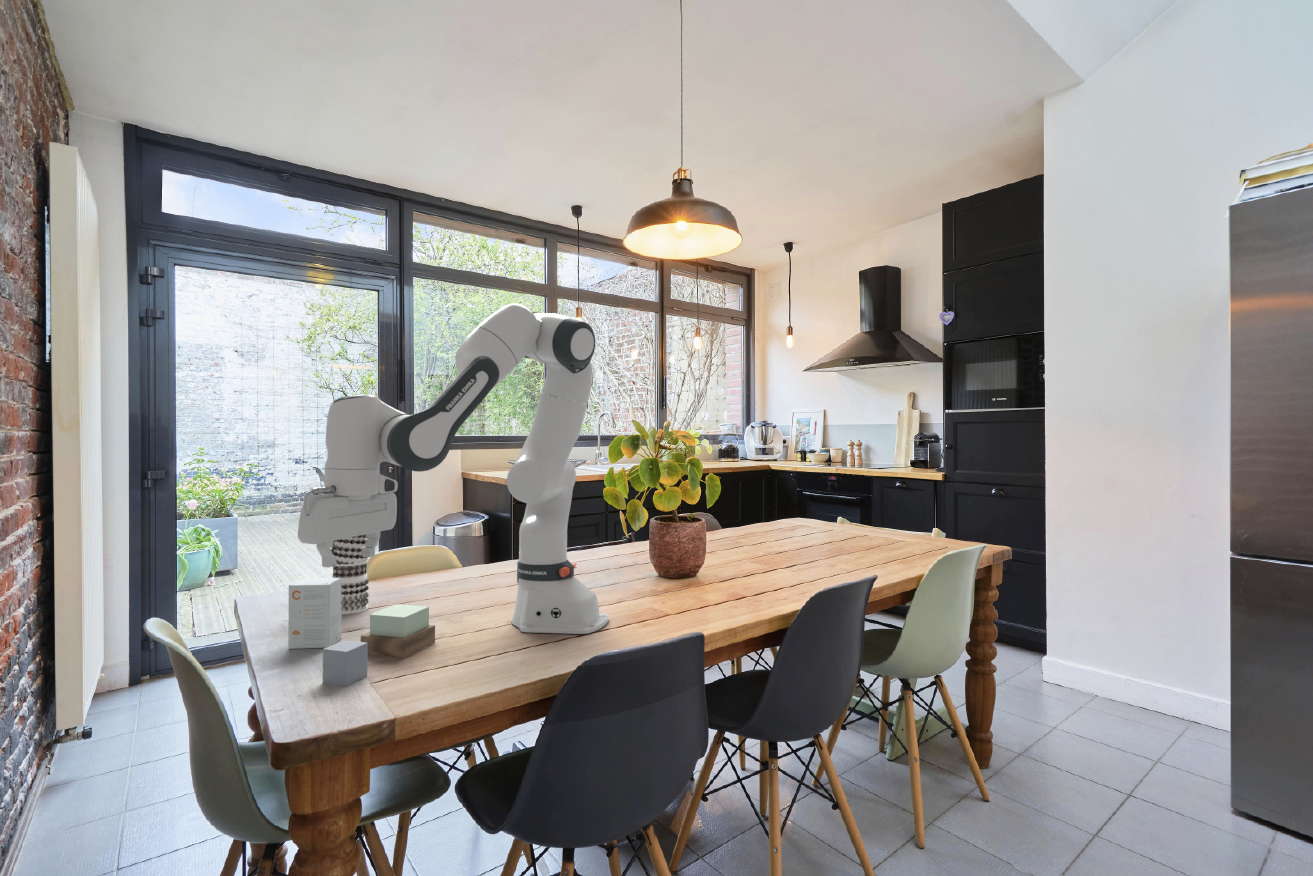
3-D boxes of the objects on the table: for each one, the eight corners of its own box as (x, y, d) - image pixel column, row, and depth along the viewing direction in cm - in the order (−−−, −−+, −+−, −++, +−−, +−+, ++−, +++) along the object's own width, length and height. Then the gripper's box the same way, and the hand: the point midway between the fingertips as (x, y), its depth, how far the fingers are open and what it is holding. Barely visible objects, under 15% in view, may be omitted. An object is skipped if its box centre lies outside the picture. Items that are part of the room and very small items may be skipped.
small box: (342, 638, 132) (342, 577, 132) (329, 648, 125) (329, 584, 125) (302, 639, 131) (302, 578, 131) (287, 649, 125) (287, 585, 125)
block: (367, 676, 111) (367, 642, 111) (346, 686, 106) (346, 651, 106) (344, 673, 112) (344, 640, 112) (322, 683, 108) (322, 649, 108)
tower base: (434, 644, 130) (435, 625, 130) (403, 660, 120) (403, 640, 120) (394, 640, 132) (394, 621, 132) (360, 655, 123) (360, 635, 123)
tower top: (428, 625, 129) (428, 606, 129) (404, 637, 122) (404, 617, 122) (395, 623, 131) (395, 604, 131) (369, 634, 123) (369, 614, 123)
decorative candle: (331, 617, 147) (332, 512, 147) (325, 608, 154) (326, 508, 155) (373, 611, 152) (374, 510, 152) (365, 603, 160) (366, 506, 160)
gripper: (321, 489, 100) (318, 575, 100) (403, 481, 119) (401, 553, 119) (289, 487, 101) (286, 571, 101) (376, 480, 121) (373, 550, 121)
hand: (349, 561), depth 111 cm, fingers open, 8 cm apart
